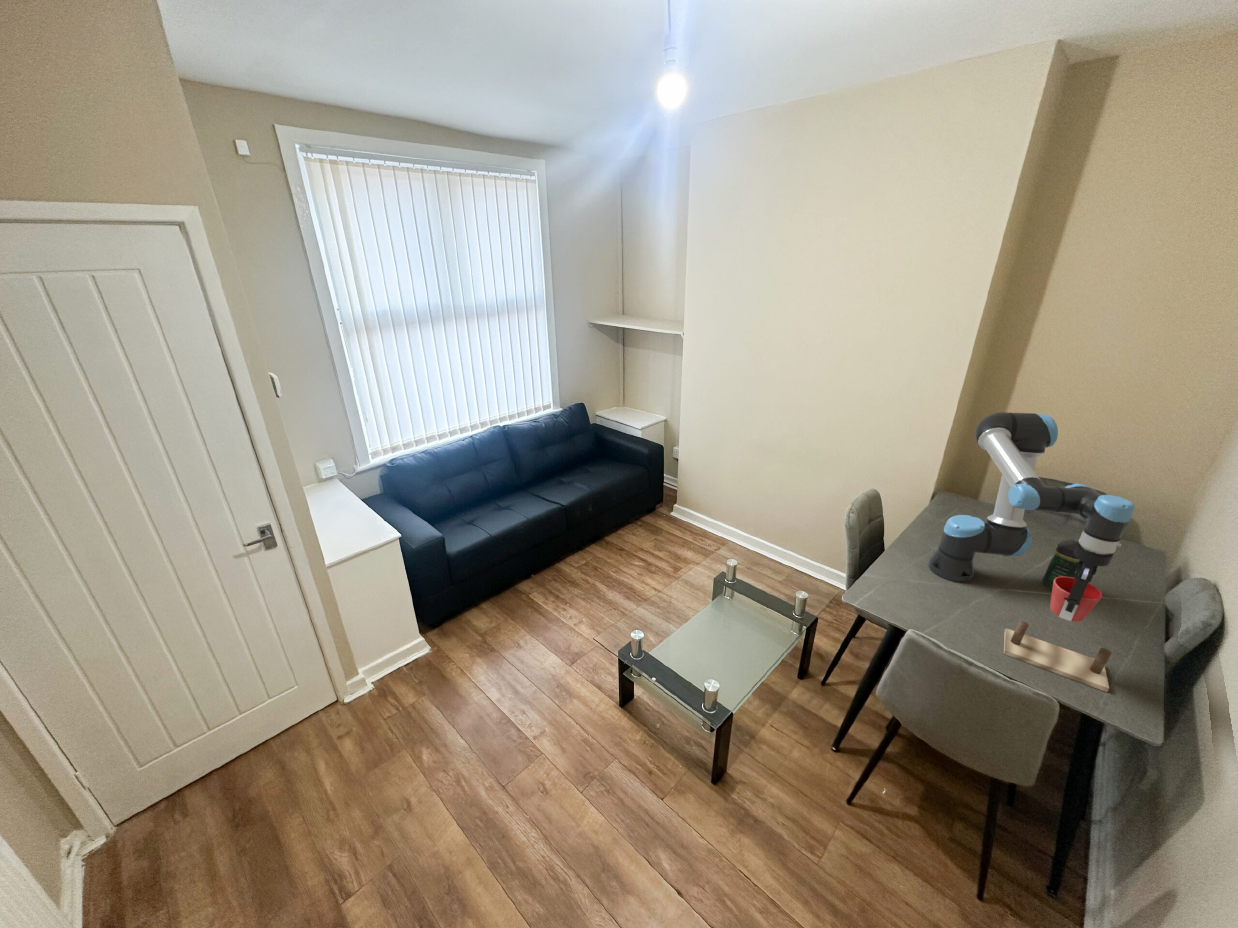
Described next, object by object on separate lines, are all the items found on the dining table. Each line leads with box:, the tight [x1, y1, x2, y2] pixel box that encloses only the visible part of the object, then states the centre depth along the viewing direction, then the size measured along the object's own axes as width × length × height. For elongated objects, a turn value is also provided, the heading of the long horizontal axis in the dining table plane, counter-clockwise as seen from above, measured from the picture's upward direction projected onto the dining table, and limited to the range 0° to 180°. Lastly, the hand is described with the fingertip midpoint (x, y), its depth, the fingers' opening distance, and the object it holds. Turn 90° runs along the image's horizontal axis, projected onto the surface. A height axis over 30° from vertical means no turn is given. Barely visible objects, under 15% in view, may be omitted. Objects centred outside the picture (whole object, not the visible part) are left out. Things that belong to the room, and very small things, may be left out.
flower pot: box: [1049, 576, 1103, 622], centre depth 141 cm, size 11×11×10 cm
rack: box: [1003, 620, 1113, 693], centre depth 145 cm, size 24×12×10 cm, turn 52°
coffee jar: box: [1041, 538, 1081, 589], centre depth 175 cm, size 10×8×19 cm
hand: (1067, 610), depth 142 cm, fingers closed on flower pot, 10 cm apart
